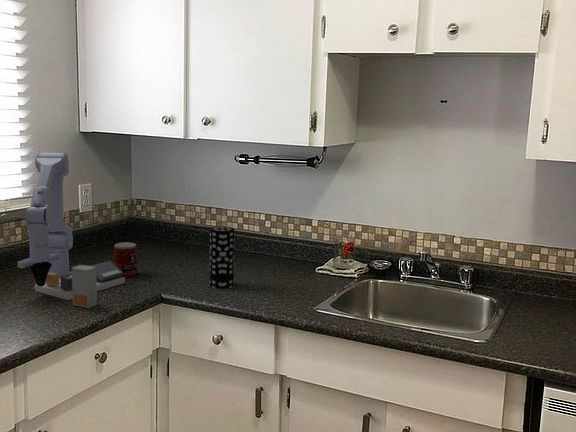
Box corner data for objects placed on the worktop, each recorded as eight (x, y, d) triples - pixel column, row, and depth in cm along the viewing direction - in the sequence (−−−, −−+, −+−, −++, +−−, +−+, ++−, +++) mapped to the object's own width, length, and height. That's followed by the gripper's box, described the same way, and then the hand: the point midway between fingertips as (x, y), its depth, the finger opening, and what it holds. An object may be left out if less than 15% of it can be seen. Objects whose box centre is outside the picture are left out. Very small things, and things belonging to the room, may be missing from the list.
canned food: (124, 278, 219) (123, 248, 217) (110, 274, 224) (109, 244, 222) (141, 274, 225) (141, 244, 223) (127, 270, 230) (126, 241, 228)
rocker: (88, 269, 209) (89, 265, 209) (108, 264, 217) (109, 260, 216) (101, 281, 206) (102, 277, 206) (121, 275, 214) (122, 272, 213)
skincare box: (72, 305, 188) (70, 267, 186) (81, 301, 192) (80, 264, 190) (88, 308, 186) (87, 270, 184) (97, 304, 190) (96, 266, 188)
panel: (34, 290, 202) (34, 279, 201) (93, 275, 222) (92, 264, 221) (67, 300, 193) (67, 288, 193) (125, 282, 214) (124, 272, 213)
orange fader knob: (45, 284, 201) (45, 273, 200) (52, 282, 203) (51, 271, 202) (52, 286, 199) (52, 275, 199) (59, 284, 201) (58, 273, 201)
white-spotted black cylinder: (220, 280, 220) (221, 225, 216) (238, 285, 215) (239, 228, 212) (204, 285, 213) (204, 228, 210) (222, 290, 209) (223, 232, 205)
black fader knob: (60, 288, 197) (60, 277, 197) (67, 286, 199) (67, 275, 199) (68, 290, 195) (67, 279, 195) (74, 288, 197) (74, 277, 197)
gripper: (26, 250, 187) (28, 293, 189) (66, 241, 199) (68, 282, 201) (12, 246, 191) (14, 289, 193) (52, 238, 203) (53, 278, 205)
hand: (40, 285), depth 197 cm, fingers closed
